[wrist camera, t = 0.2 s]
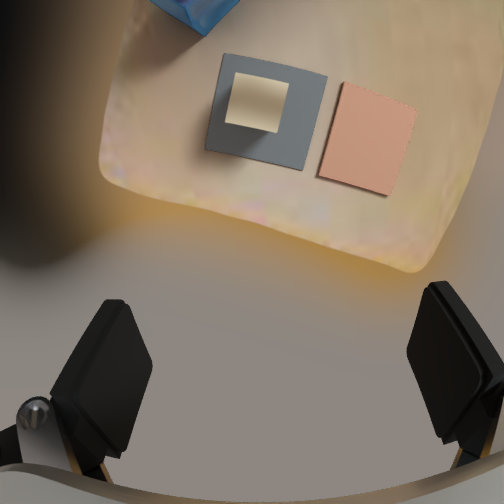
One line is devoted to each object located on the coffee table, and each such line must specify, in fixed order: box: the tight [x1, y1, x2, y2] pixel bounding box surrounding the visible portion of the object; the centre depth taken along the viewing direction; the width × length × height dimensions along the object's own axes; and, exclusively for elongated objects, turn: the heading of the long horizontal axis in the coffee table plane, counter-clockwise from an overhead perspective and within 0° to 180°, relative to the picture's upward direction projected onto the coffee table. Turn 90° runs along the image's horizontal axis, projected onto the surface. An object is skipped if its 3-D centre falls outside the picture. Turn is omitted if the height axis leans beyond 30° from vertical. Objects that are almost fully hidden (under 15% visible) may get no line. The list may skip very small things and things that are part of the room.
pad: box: [318, 82, 418, 196], centre depth 33 cm, size 12×10×1 cm
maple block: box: [225, 72, 289, 133], centre depth 29 cm, size 5×5×7 cm
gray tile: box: [205, 53, 328, 170], centre depth 33 cm, size 12×12×1 cm
